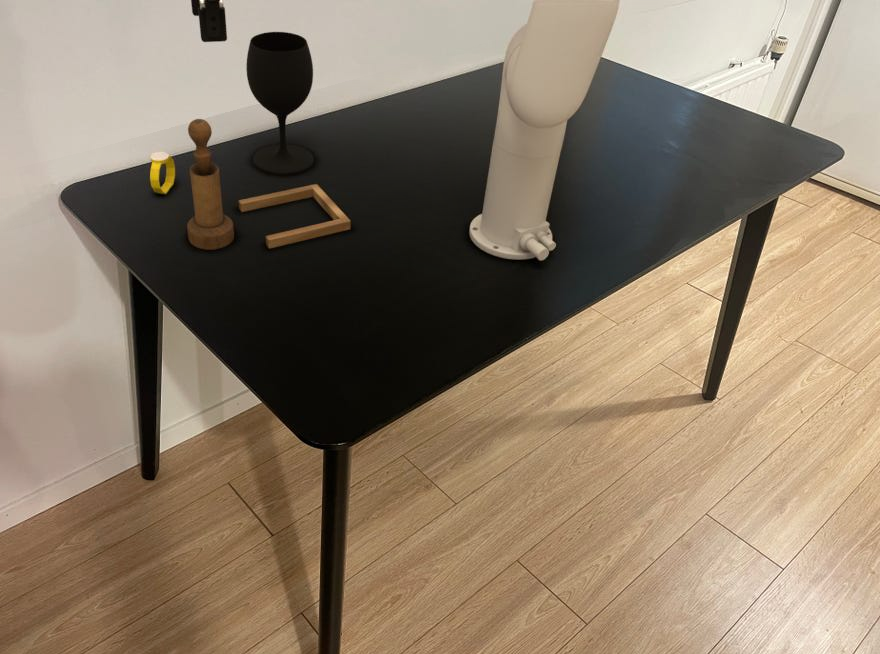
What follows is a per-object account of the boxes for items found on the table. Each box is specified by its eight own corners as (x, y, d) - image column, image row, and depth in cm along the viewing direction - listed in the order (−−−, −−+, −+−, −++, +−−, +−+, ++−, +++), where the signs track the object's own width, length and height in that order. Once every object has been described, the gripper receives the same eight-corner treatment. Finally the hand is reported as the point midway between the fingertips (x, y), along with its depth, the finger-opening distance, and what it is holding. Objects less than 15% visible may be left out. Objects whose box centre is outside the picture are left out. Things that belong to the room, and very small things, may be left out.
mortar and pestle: (224, 253, 111) (212, 135, 99) (181, 245, 112) (164, 127, 100) (240, 229, 116) (231, 114, 104) (199, 222, 117) (185, 107, 105)
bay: (350, 229, 118) (350, 220, 117) (269, 249, 113) (268, 240, 112) (316, 192, 126) (316, 183, 125) (238, 208, 120) (238, 200, 119)
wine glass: (288, 141, 138) (284, 25, 125) (326, 163, 133) (326, 44, 120) (240, 157, 133) (230, 38, 119) (277, 181, 127) (272, 59, 114)
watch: (165, 179, 125) (159, 145, 122) (181, 182, 125) (176, 148, 121) (148, 197, 121) (142, 162, 117) (165, 200, 121) (160, 165, 117)
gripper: (239, -106, 86) (248, 50, 97) (218, -138, 98) (228, 5, 109) (169, -107, 84) (187, 53, 95) (156, -139, 96) (173, 6, 107)
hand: (209, 27), depth 102 cm, fingers open, 9 cm apart
